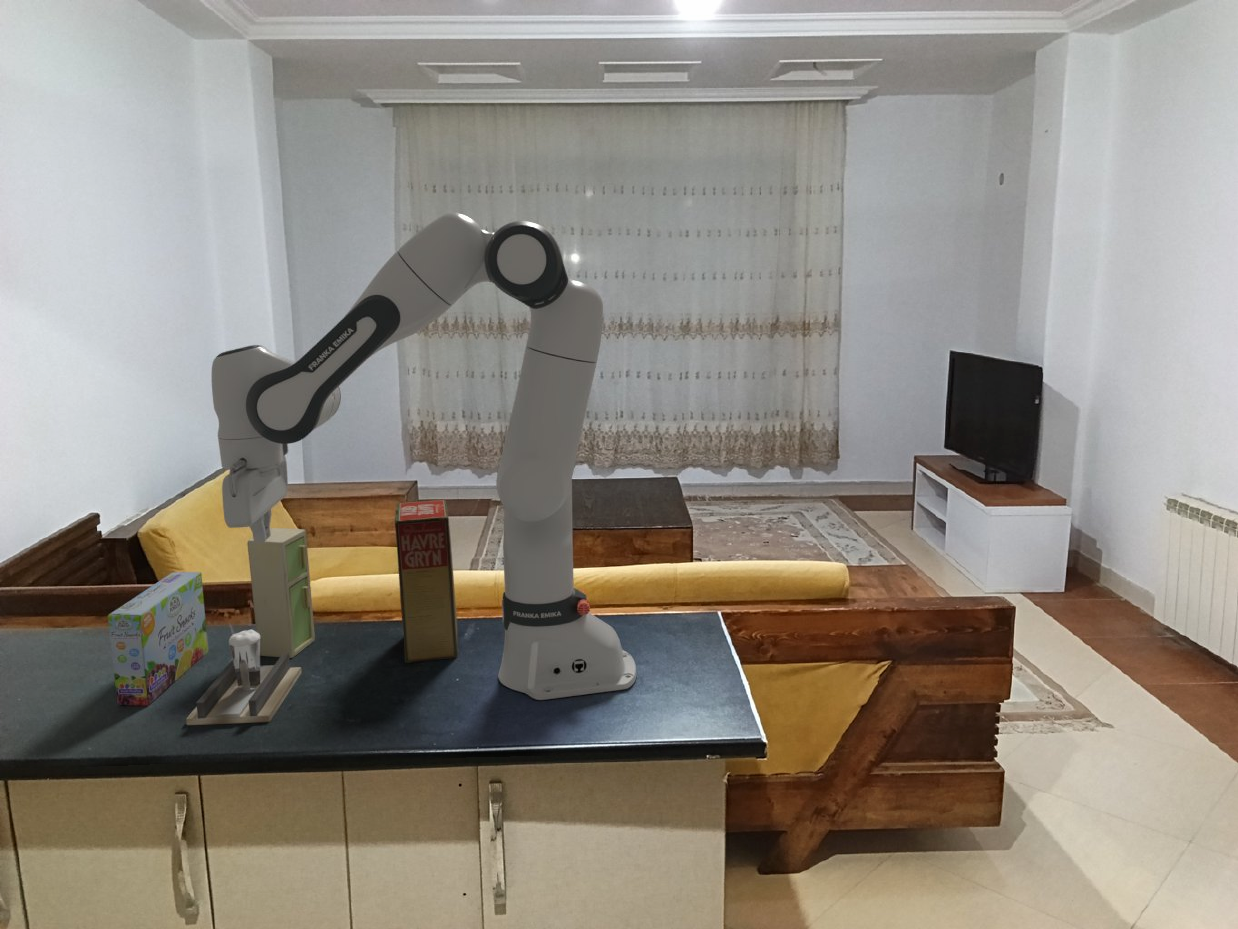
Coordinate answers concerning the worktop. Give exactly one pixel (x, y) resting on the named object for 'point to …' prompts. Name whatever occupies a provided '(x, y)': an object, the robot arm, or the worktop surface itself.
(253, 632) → the milkshake
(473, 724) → the worktop surface
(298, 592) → the toy refrigerator
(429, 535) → the food packaging
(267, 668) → the rail plate
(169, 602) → the snack box
